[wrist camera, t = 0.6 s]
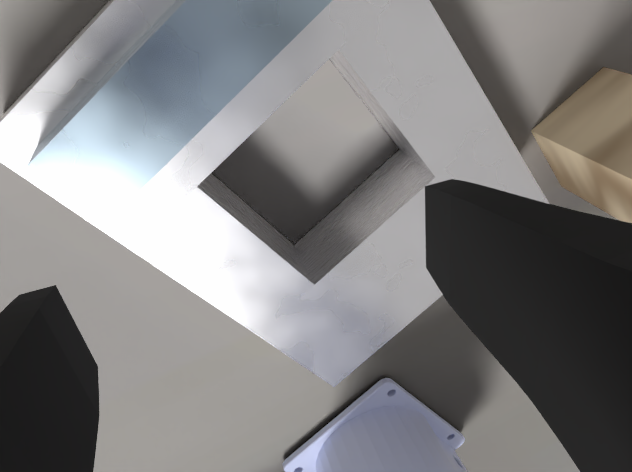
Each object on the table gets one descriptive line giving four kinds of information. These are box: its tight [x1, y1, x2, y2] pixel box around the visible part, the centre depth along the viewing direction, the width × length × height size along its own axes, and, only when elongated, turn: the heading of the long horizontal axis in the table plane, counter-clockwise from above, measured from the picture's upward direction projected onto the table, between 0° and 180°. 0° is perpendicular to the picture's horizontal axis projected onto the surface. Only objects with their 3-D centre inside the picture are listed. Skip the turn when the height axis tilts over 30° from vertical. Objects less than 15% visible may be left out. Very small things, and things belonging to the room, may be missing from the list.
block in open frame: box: [0, 0, 549, 387], centre depth 18 cm, size 16×12×4 cm
